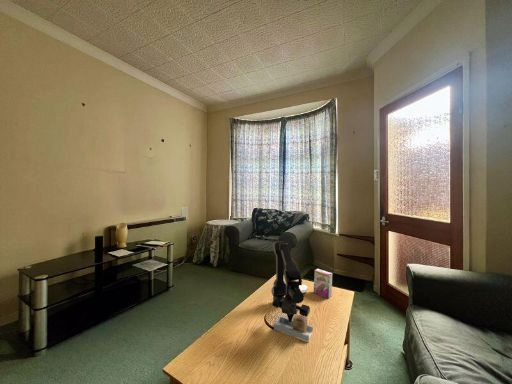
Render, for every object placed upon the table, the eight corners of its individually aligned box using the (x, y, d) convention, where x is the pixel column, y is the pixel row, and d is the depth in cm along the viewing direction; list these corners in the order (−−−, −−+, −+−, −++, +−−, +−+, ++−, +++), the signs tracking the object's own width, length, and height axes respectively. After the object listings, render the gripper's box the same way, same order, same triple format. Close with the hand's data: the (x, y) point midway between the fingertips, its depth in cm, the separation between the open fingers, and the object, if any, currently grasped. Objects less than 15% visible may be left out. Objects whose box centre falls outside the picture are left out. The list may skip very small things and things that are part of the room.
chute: (274, 329, 111) (274, 324, 111) (280, 320, 119) (280, 315, 119) (308, 342, 103) (308, 336, 103) (312, 331, 111) (312, 326, 110)
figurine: (301, 297, 142) (303, 272, 142) (277, 290, 152) (278, 267, 152) (311, 288, 158) (312, 266, 159) (289, 282, 168) (290, 261, 169)
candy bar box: (313, 293, 150) (314, 270, 149) (316, 290, 153) (317, 268, 153) (328, 299, 142) (329, 275, 142) (331, 296, 146) (332, 272, 145)
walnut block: (292, 332, 109) (293, 319, 108) (295, 326, 113) (296, 314, 113) (304, 336, 106) (304, 323, 105) (306, 330, 110) (307, 317, 110)
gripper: (268, 294, 108) (267, 324, 109) (304, 305, 99) (303, 338, 100) (277, 285, 118) (276, 313, 119) (310, 294, 109) (309, 324, 110)
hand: (290, 322), depth 112 cm, fingers closed
